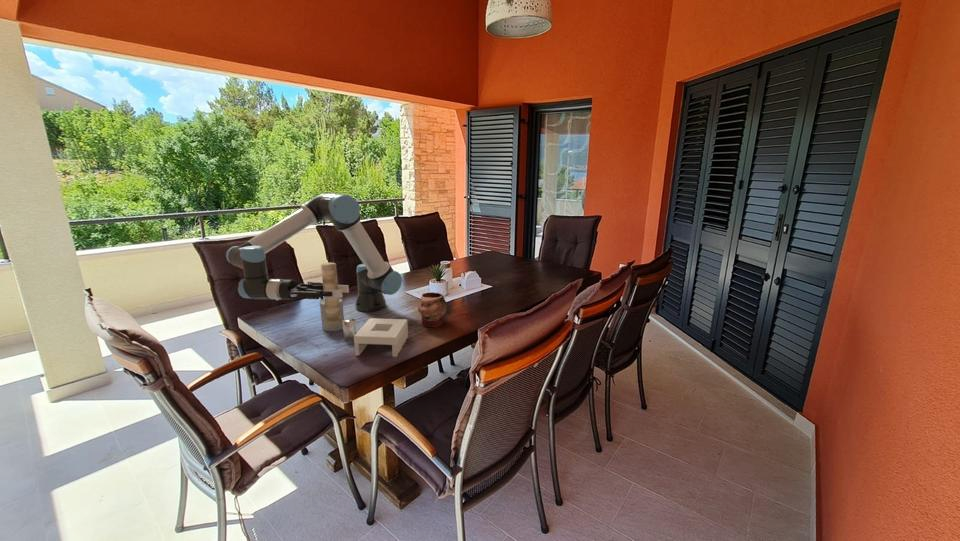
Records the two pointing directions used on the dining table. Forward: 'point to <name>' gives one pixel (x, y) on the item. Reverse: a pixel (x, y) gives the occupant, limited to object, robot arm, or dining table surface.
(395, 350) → the miniature square stool
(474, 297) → the dining table surface
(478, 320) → the dining table surface
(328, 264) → the long pin
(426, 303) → the decorative planter
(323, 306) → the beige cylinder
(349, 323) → the glass salt shaker
